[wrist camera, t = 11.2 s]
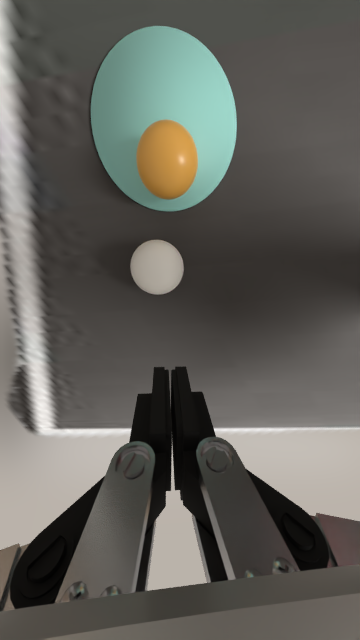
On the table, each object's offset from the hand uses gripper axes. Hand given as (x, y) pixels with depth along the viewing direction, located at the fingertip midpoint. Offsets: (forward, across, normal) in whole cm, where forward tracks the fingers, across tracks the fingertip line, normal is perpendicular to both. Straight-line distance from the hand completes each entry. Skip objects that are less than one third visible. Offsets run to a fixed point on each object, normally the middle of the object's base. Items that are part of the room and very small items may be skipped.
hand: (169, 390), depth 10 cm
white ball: (+12, +1, -6) cm, 14 cm away
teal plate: (+15, 0, -18) cm, 24 cm away
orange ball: (+12, 0, -15) cm, 19 cm away
